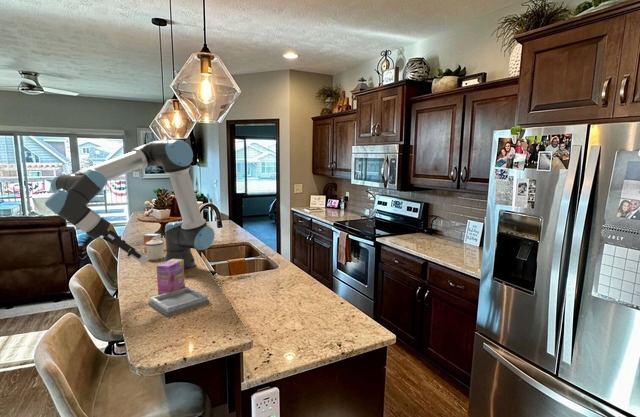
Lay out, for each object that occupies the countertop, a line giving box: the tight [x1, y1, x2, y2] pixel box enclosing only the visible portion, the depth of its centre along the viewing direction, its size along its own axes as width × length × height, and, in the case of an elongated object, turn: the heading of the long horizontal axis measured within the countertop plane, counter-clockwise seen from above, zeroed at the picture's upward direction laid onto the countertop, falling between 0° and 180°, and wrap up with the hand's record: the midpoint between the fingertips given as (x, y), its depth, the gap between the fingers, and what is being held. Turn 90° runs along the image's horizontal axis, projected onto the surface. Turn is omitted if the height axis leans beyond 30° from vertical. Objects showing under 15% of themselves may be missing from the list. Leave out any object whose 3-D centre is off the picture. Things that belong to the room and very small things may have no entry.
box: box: [156, 259, 186, 295], centre depth 143 cm, size 10×6×12 cm, turn 168°
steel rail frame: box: [149, 286, 209, 313], centre depth 128 cm, size 15×15×2 cm
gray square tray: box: [147, 292, 211, 318], centre depth 128 cm, size 16×16×1 cm
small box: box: [143, 233, 162, 253], centre depth 209 cm, size 8×6×10 cm
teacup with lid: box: [139, 238, 165, 261], centre depth 192 cm, size 12×9×12 cm
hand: (141, 258), depth 134 cm, fingers open, 13 cm apart
